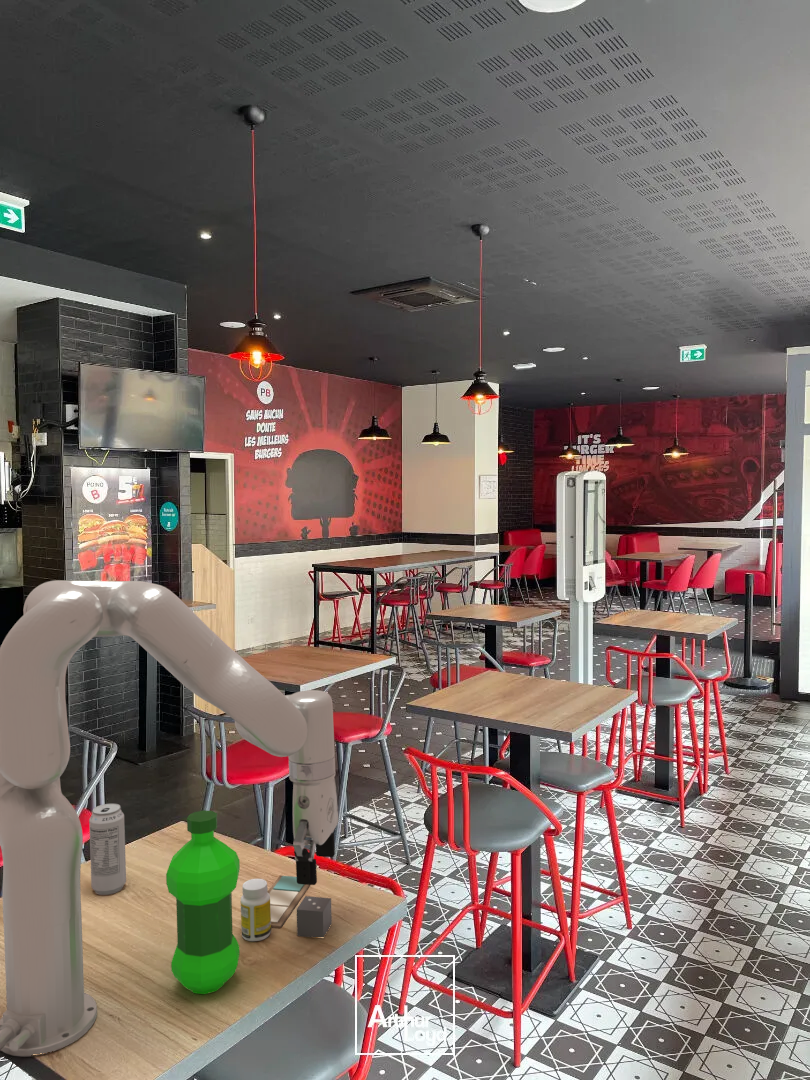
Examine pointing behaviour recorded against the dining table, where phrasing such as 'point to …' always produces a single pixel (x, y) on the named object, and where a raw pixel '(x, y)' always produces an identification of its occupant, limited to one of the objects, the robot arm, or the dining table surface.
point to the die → (314, 916)
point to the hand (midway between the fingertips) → (316, 869)
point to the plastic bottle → (204, 907)
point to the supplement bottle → (255, 910)
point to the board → (284, 898)
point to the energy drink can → (107, 849)
